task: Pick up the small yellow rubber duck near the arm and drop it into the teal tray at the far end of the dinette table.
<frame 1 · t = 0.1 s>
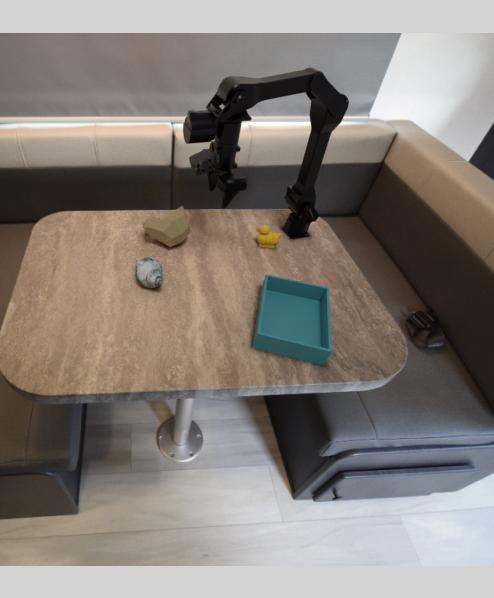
hand: (217, 199, 95), 15 cm above the table, tool pointing down, fingers open, 9 cm apart
teal tray: (289, 323, 84), on the table
low-poly potato: (166, 241, 106), on the table
seashell: (148, 280, 93), on the table
duck: (266, 244, 105), on the table
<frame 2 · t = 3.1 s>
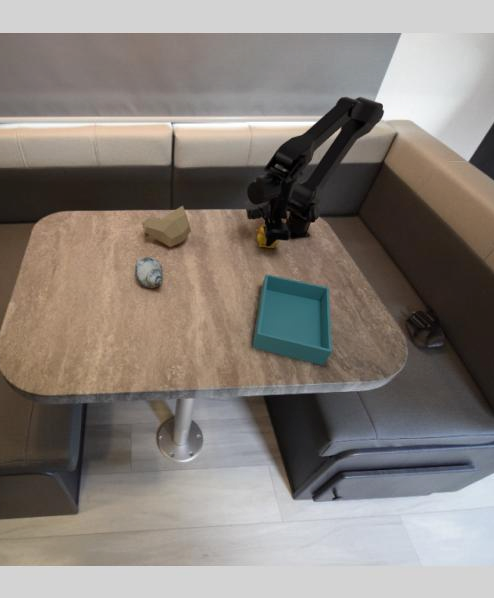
hand: (266, 241, 105), 1 cm above the table, tool pointing down, fingers closed on duck, 4 cm apart
duck: (266, 244, 105), on the table, touching gripper
everything else where it was.
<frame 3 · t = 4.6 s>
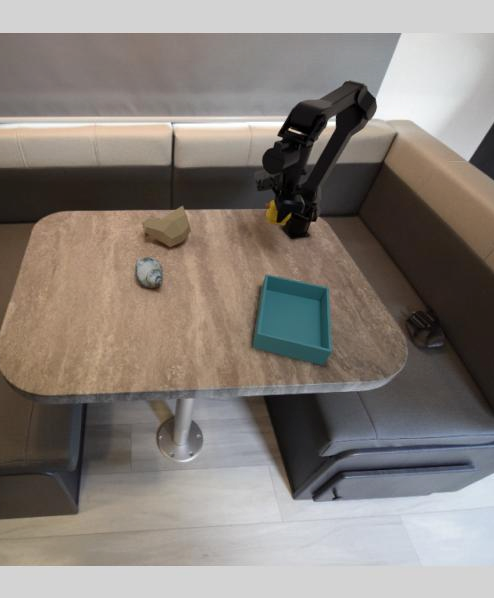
hand: (277, 218, 96), 11 cm above the table, tool pointing down, fingers closed on duck, 4 cm apart
duck: (276, 221, 96), point 10 cm above the table, touching gripper
everything else where it was.
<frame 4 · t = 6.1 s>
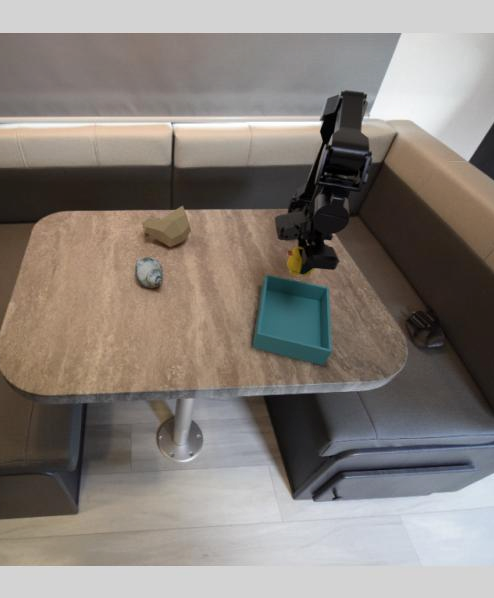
hand: (300, 267, 80), 11 cm above the table, tool pointing down, fingers closed on duck, 4 cm apart
duck: (298, 270, 81), point 10 cm above the table, touching gripper
everything else where it was.
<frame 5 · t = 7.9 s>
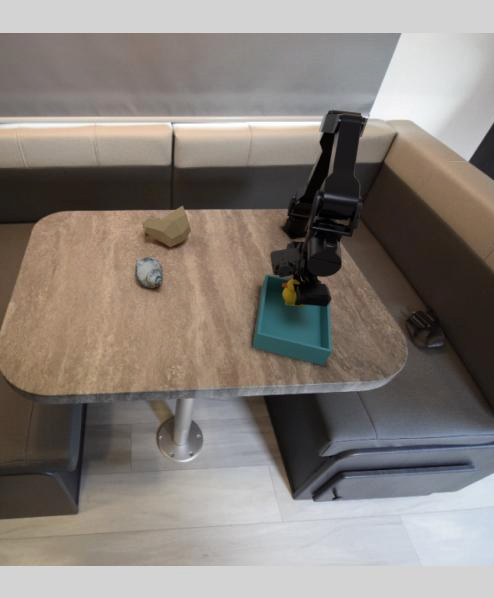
hand: (295, 298, 83), 4 cm above the table, tool pointing down, fingers closed on duck, 4 cm apart
duck: (293, 301, 84), point 3 cm above the table, touching gripper
everything else where it was.
when the fingers open (1 cm above the table, at t = 9.1 s): duck stays where it is, resting on teal tray.
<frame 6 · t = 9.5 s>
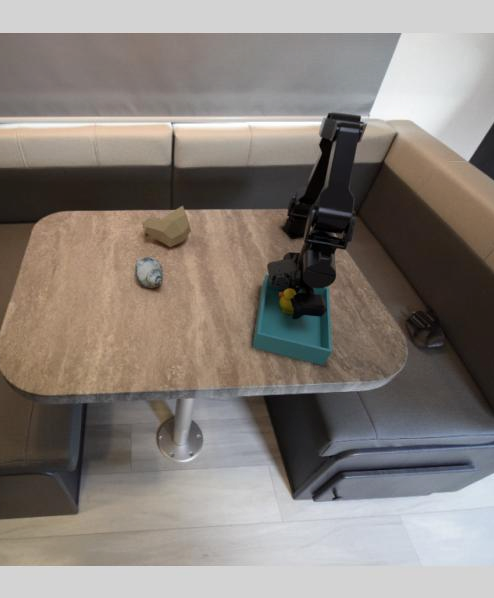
hand: (292, 308, 85), 1 cm above the table, tool pointing down, fingers open, 7 cm apart
duck: (290, 309, 86), resting on teal tray
everything else where it was.
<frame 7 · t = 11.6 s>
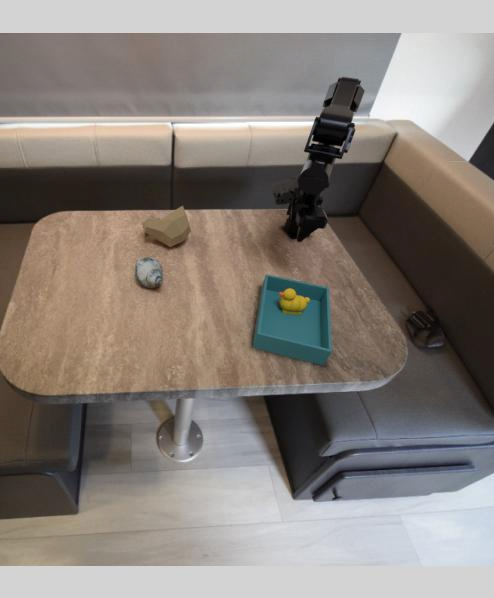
hand: (295, 230, 91), 11 cm above the table, tool pointing down, fingers open, 9 cm apart
nothing on the table moved.
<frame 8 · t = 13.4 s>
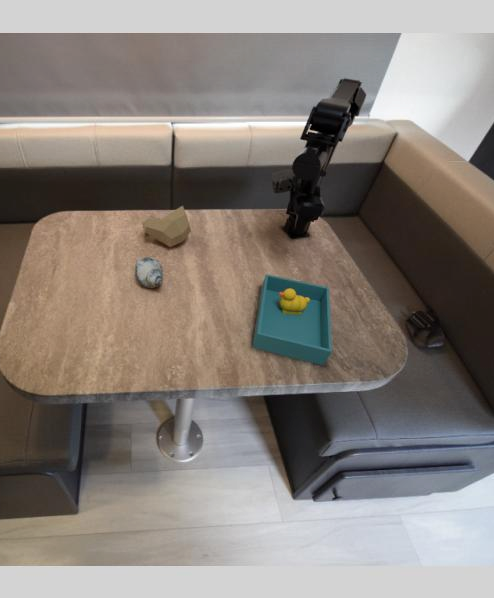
hand: (293, 220, 93), 12 cm above the table, tool pointing down, fingers open, 9 cm apart
nothing on the table moved.
at the end: duck 4.2 cm from the teal tray (horizontally); duck point 0.5 cm above the table; the gripper is holding nothing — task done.
